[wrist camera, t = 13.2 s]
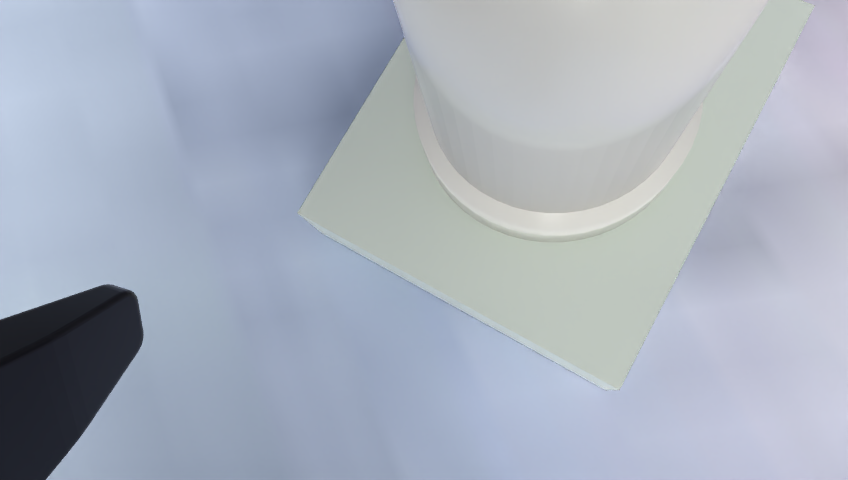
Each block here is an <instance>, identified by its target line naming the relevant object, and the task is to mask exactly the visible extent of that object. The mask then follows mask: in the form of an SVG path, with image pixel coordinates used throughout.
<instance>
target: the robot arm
mask: <svg viewBox="0 0 848 480" xmlns="http://www.w3.org/2000/svg"><path fill="white" fill-rule="evenodd" d="M143 335H144V334H143V327H142V321H141V315H140V310H139V304H138V299H137V296H136V295H135V294H134V292H132V291H131V290H127V289H124V288H121V287H118V286H115V285H109V284H107V285H102V286H98V287H95V288H93V289H90V290H87V291H84V292H81V293H78V294H75V295H72V296H69V297H66V298H63V299H60V300H57V301H54V302H51V303H48V304H45V305H42V306H39V307H36V308H34V309H31V310H28V311H25V312H22V313H19V314H16V315H13V316H10V317H7V318H4V319H1V320H0V480H46V479H47V477H48V476H49V475H50V474H51V473H52V471H53V470H54V469H55V468H56V467H57V465H58V464H59V463H60V462H61V460H62V459H63V458H64V457H65V456H66V454H67V453H68V452H69V451H70V449H71V448H72V447H73V446H74V444H75V443H76V442H77V440H78V439H79V438H80V437H81V435H82V434H83V432H84V431H85V430H86V428H87V427H88V425H89V424H90V423H91V421H92V420H93V418H94V417H95V415H96V414H97V412H98V411H99V409H100V408H101V406H102V405H103V403H104V402H105V400H106V399H107V397H108V396H109V394H110V393H111V391H112V390H113V388H114V387H115V385H116V384H117V382H118V381H119V379H120V378H121V376H122V375H123V373H124V372H125V370H126V369H127V367H128V366H129V364H130V363H131V361H132V360H133V358H134V357H135V355H136V354H137V352H138V351H139V349H140V347H141V345H142V341H143Z"/></svg>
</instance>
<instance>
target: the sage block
mask: <svg viewBox="0 0 848 480" xmlns="http://www.w3.org/2000/svg"><path fill="white" fill-rule="evenodd" d="M814 6H815V5H812V4H810V3H807V2H804V1H802V0H769V1H768V3H767V4H766V6H765V7H764V9H763V10H762V12H761V13H760V15H759V16H758V18H757V19H756V21H755V23H754V24H753V26H752V27H751V29H750V30H749V32H748V33H747V35H746V36H745V38H744V39H743V41H742V42H741V44H740V46H739V47H738V49H737V50H736V52H735V53H734V55H733V56H732V58H731V59H730V61H729V62H728V64H727V65H726V67H725V69H724V70H723V72H722V73H721V75H720V76H719V78H718V79H717V81H716V82H715V84H714V85H713V87H712V88H711V90H710V92H709V93H708V95H707V96H706V98H705V99H704V101H703V110H702V116H701V120H700V125H699V129H698V132H697V135H696V137H695V140H694V143H693V145H692V148H691V149H690V151H689V153H688V155H687V156H686V158H685V160H684V162H683V163H682V165H681V166H680V168H679V169H678V170H677V172H676V173H675V174H674V176H673V177H672V178H671V180H670V181H669V182H668V184H667V185H666V186H665V188H664V189H663V190H662V192H661V193H660V194H659V195H658V197H657V198H656V199H655V200H654V201H653V202H652V203H651V204H650V205H648V206H647V207H646V208H645V209H644V210H643V211H642V212H640V213H639V214H638V215H636V216H635V217H634V218H632V219H631V220H629V221H627V222H625V223H624V224H622V225H620V226H618V227H617V228H615V229H612V230H610V231H607V232H605V233H602V234H600V235H597V236H593V237H589V238H585V239H581V240H575V241H567V242H538V241H530V240H524V239H520V238H516V237H512V236H508V235H506V234H503V233H501V232H498V231H496V230H493V229H491V228H489V227H487V226H486V225H484V224H482V223H480V222H478V221H477V220H475V219H474V218H473V217H471V216H470V215H469V214H467V213H466V212H464V211H463V210H462V209H461V208H460V207H459V206H458V205H457V204H456V203H455V202H454V201H453V200H452V199H451V198H450V197H449V196H448V194H447V193H446V192H445V190H444V189H443V188H442V187H441V185H440V183H439V182H438V180H437V178H436V177H435V175H434V173H433V171H432V169H431V166H430V164H429V161H428V159H427V157H426V154H425V151H424V148H423V146H422V143H421V140H420V138H419V134H418V130H417V126H416V122H415V114H414V105H413V102H414V85H415V79H416V73H415V70H414V67H413V63H412V60H411V57H410V54H409V50H408V47H407V44H406V41H405V37H404V38H403V40H402V41H401V43H400V45H399V46H398V48H397V50H396V51H395V53H394V55H393V56H392V58H391V60H390V61H389V63H388V64H387V66H386V68H385V69H384V71H383V73H382V74H381V76H380V78H379V79H378V81H377V83H376V84H375V86H374V87H373V89H372V91H371V92H370V94H369V96H368V97H367V99H366V101H365V102H364V104H363V106H362V107H361V109H360V110H359V112H358V114H357V115H356V117H355V119H354V120H353V122H352V124H351V125H350V127H349V129H348V130H347V132H346V134H345V135H344V137H343V138H342V140H341V142H340V143H339V145H338V147H337V148H336V150H335V152H334V153H333V155H332V157H331V158H330V160H329V161H328V163H327V165H326V166H325V168H324V170H323V171H322V173H321V175H320V176H319V178H318V180H317V181H316V183H315V184H314V186H313V188H312V189H311V191H310V193H309V194H308V196H307V198H306V199H305V201H304V203H303V204H302V206H301V207H300V209H299V211H298V212H297V213H298V214H299V215H300V216H302V217H303V218H304V219H305V220H306V221H308V222H309V223H310V224H311V225H312V226H314V227H315V228H316V229H317V230H318V231H320V232H321V233H322V234H324V235H326V236H327V237H329V238H331V239H333V240H335V241H336V242H338V243H340V244H342V245H344V246H346V247H347V248H349V249H351V250H353V251H355V252H356V253H358V254H360V255H362V256H364V257H365V258H367V259H369V260H371V261H373V262H374V263H376V264H378V265H380V266H382V267H384V268H385V269H387V270H389V271H391V272H393V273H394V274H396V275H398V276H400V277H402V278H403V279H405V280H407V281H409V282H411V283H412V284H414V285H416V286H418V287H420V288H422V289H423V290H425V291H427V292H429V293H431V294H432V295H434V296H436V297H438V298H440V299H441V300H443V301H445V302H447V303H449V304H450V305H452V306H454V307H456V308H458V309H460V310H461V311H463V312H465V313H467V314H469V315H470V316H472V317H474V318H476V319H478V320H479V321H481V322H483V323H485V324H487V325H488V326H490V327H492V328H494V329H496V330H497V331H499V332H501V333H503V334H505V335H507V336H508V337H510V338H512V339H514V340H516V341H517V342H519V343H521V344H523V345H525V346H526V347H528V348H530V349H532V350H534V351H535V352H537V353H539V354H541V355H543V356H545V357H546V358H548V359H550V360H552V361H554V362H555V363H557V364H559V365H561V366H563V367H564V368H566V369H568V370H570V371H572V372H573V373H575V374H577V375H579V376H581V377H583V378H584V379H586V380H588V381H590V382H592V383H593V384H595V385H597V386H599V387H601V388H602V389H604V390H620V388H621V386H622V384H623V382H624V380H625V378H626V376H627V374H628V372H629V370H630V368H631V366H632V364H633V363H634V361H635V359H636V357H637V355H638V353H639V351H640V349H641V347H642V345H643V343H644V341H645V339H646V337H647V335H648V333H649V331H650V329H651V327H652V325H653V323H654V321H655V319H656V317H657V315H658V313H659V311H660V309H661V307H662V305H663V303H664V301H665V300H666V298H667V296H668V294H669V292H670V290H671V288H672V286H673V284H674V282H675V280H676V278H677V276H678V274H679V272H680V270H681V268H682V266H683V264H684V262H685V260H686V258H687V256H688V254H689V252H690V250H691V248H692V246H693V244H694V242H695V240H696V238H697V236H698V235H699V233H700V231H701V229H702V227H703V225H704V223H705V221H706V219H707V217H708V215H709V213H710V211H711V209H712V207H713V205H714V203H715V201H716V199H717V197H718V195H719V193H720V191H721V189H722V187H723V185H724V183H725V181H726V179H727V177H728V175H729V173H730V171H731V170H732V168H733V166H734V164H735V162H736V160H737V158H738V156H739V154H740V152H741V150H742V148H743V146H744V144H745V142H746V140H747V138H748V136H749V134H750V132H751V130H752V128H753V126H754V124H755V122H756V120H757V118H758V116H759V114H760V112H761V110H762V108H763V107H764V105H765V103H766V101H767V99H768V97H769V95H770V93H771V91H772V89H773V87H774V85H775V83H776V81H777V79H778V77H779V75H780V73H781V71H782V69H783V67H784V65H785V63H786V61H787V59H788V57H789V55H790V53H791V51H792V49H793V47H794V45H795V43H796V42H797V40H798V38H799V36H800V34H801V32H802V30H803V28H804V26H805V24H806V22H807V20H808V18H809V16H810V14H811V12H812V10H813V8H814Z"/></svg>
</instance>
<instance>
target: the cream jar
mask: <svg viewBox="0 0 848 480" xmlns="http://www.w3.org/2000/svg"><path fill="white" fill-rule="evenodd" d="M768 1H769V0H393V2H394V5H395V8H396V11H397V15H398V18H399V21H400V24H401V28H402V31H403V34H404V37H405V41H406V44H407V47H408V50H409V54H410V57H411V60H412V63H413V67H414V70H415V73H416V79H415V85H414V102H413V105H414V114H415V122H416V126H417V130H418V134H419V138H420V140H421V143H422V146H423V148H424V151H425V154H426V157H427V159H428V161H429V164H430V166H431V169H432V171H433V173H434V175H435V177H436V178H437V180H438V182H439V183H440V185H441V187H442V188H443V189H444V190H445V192H446V193H447V194H448V196H449V197H450V198H451V199H452V200H453V201H454V202H455V203H456V204H457V205H458V206H459V207H460V208H461V209H462V210H463V211H464V212H466V213H467V214H469V215H470V216H471V217H473V218H474V219H475V220H477V221H478V222H480V223H482V224H484V225H486V226H487V227H489V228H491V229H493V230H496V231H498V232H501V233H503V234H506V235H508V236H512V237H516V238H520V239H524V240H530V241H538V242H567V241H575V240H581V239H585V238H589V237H593V236H597V235H600V234H602V233H605V232H607V231H610V230H612V229H615V228H617V227H618V226H620V225H622V224H624V223H625V222H627V221H629V220H631V219H632V218H634V217H635V216H636V215H638V214H639V213H640V212H642V211H643V210H644V209H645V208H646V207H647V206H648V205H650V204H651V203H652V202H653V201H654V200H655V199H656V198H657V197H658V195H659V194H660V193H661V192H662V190H663V189H664V188H665V186H666V185H667V184H668V182H669V181H670V180H671V178H672V177H673V176H674V174H675V173H676V172H677V170H678V169H679V168H680V166H681V165H682V163H683V162H684V160H685V158H686V156H687V155H688V153H689V151H690V149H691V148H692V145H693V143H694V140H695V137H696V135H697V132H698V129H699V125H700V120H701V116H702V110H703V101H704V99H705V98H706V96H707V95H708V93H709V92H710V90H711V88H712V87H713V85H714V84H715V82H716V81H717V79H718V78H719V76H720V75H721V73H722V72H723V70H724V69H725V67H726V65H727V64H728V62H729V61H730V59H731V58H732V56H733V55H734V53H735V52H736V50H737V49H738V47H739V46H740V44H741V42H742V41H743V39H744V38H745V36H746V35H747V33H748V32H749V30H750V29H751V27H752V26H753V24H754V23H755V21H756V19H757V18H758V16H759V15H760V13H761V12H762V10H763V9H764V7H765V6H766V4H767V3H768Z"/></svg>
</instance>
